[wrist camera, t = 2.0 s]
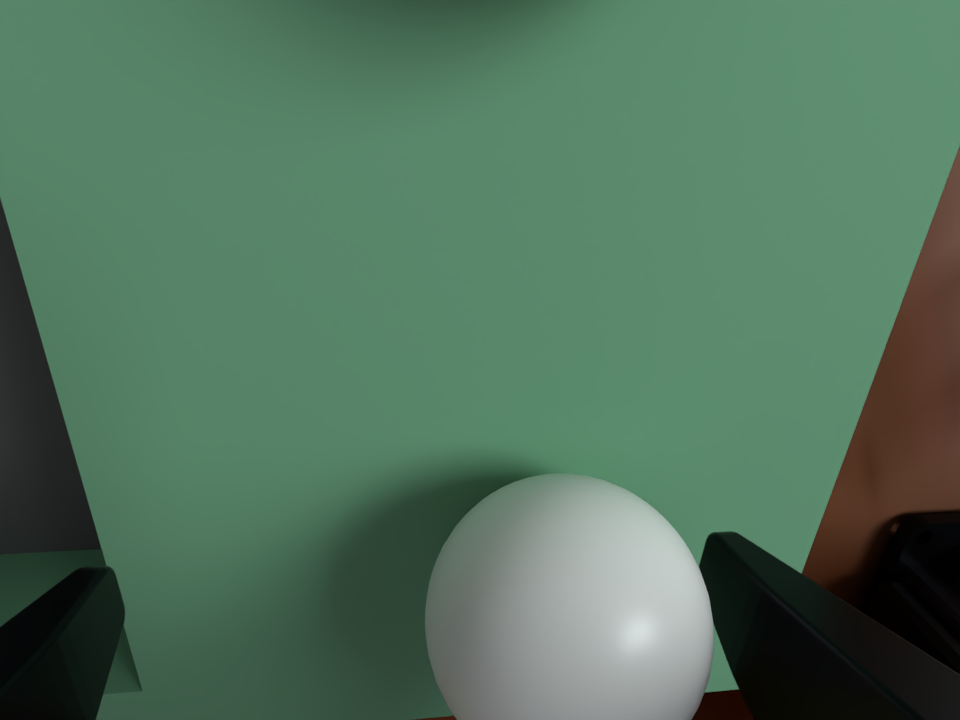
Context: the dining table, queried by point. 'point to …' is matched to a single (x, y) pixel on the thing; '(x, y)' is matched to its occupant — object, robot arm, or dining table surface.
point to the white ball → (568, 608)
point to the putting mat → (430, 300)
